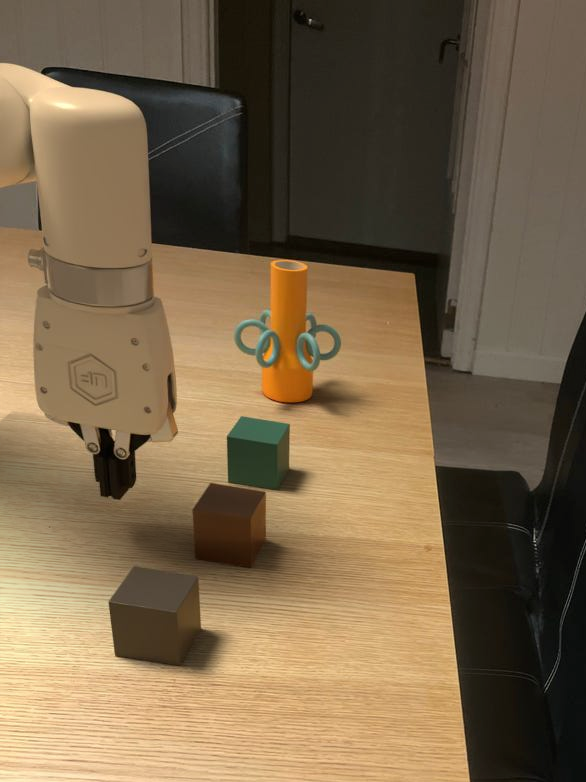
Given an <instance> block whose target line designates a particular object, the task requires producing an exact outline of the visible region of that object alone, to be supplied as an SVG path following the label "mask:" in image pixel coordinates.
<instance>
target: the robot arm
mask: <svg viewBox="0 0 586 782" xmlns="http://www.w3.org/2000/svg"><path fill="white" fill-rule="evenodd" d="M32 182H33V183H34V182H36V186H37V187H36V188H37V194H38V196H37V197H38V205H39V212H40V213H39V214H40V222H41V233H42V241H43V243H42V244H43V247H42V248H40V249H35V248H31V249H29V251H28V253H27V262H28V265H29V267H30V268H34V269H38V270H39V271H41V272H43V275H44V284H46V285H43V286H41V287H39V288H38V289H37V291H36V298H35V306H34V318H33V337H32V338H33V339H32V342H33V343H32V350H33V351H32V352H33V353H32V355H33V356H32V357H33V378H34V379H33V380H34V390H35V397H36V402H37V405H38V408H39V409H40V410H41V412H42V413H44V416H45V417H46V418H47V419H48V420H50V421H53V422H55V423H58V424H60V425H62V426H65V427H69V428H70V430H72V431H73V432H74V433H75V434H76V435H77V436H78V437H79V439H81V440H82V441H83V443H84V446H85V449H86V451H87V452H88V453H89V454H92V460H93V461H92V462H93V471H94V472H93V473H94V481H95V482H96V483H98V484H99V485H98V487H99V495H100V497H102V498H106V499H108V498H109V497H111V498H112V499H113V500H117V501H121V500H122V499H123V497H124V496H125V495H126V493H128V491H129V490H130V489H133V488H134V486H135V484H136V482H137V465H136V451H137V450H138V449H140V448H141V447H143V446H144V445H145V444H146V443H168V442H169V443H170V442H172V441H173V440H174V439H175V438H176V436H177V435H178V433H179V430H178V426H177V423H176V422H177V421H176V418H175V415H174V413H175V412H176V409H177V404H178V403H177V402H178V391H177V375H176V368H175V359H174V358H175V357H174V350H173V345H172V338H171V333H170V328H169V323H168V319H167V316H166V312H165V307H164V304H163V301H162V299H161V298H160V297H158V296H155V291H154V290H155V289H154V267H153V249H152V248H153V247H152V243H153V242H152V221H151V220H152V218H151V193H150V192H151V191H150V190H151V189H150V167H149V144H148V129H147V122H146V119H145V117H144V114H143V112H142V110H141V108H140V107H139V106H138V105H137V104H135V103H134V102H133V101H132V100H130V99H128V98H126V97H124V96H122V95H120V94H116V93H113V92H108V91H104V90H99V89H93V88H86V87H77V86H76V87H74V86H70V85H68V84H65V83H63V82H60V81H58V80H56V79H53V78H51V77H49V76H47V75H44V74H43V73H40V72H38V71H36V70H33V69H31V68H28V67H25V66H22V65H19V64H14V63H9V62H8V63H7V62H0V189H1V188H5V187H10V186H16V185H22V184H27V183H32ZM113 431H115V435H114V433H113ZM113 436H115V437H114V438H113Z"/></svg>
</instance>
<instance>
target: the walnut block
mask: <svg viewBox="0 0 586 782" xmlns="http://www.w3.org/2000/svg"><path fill="white" fill-rule="evenodd" d="M192 527H193V528H192V529H193V546H194V548H193V550H194V559H195V560H201V561H206V562H211V563H212V562H213V563H217V564H218V563H219V564H225V565H232V566H236V567H237V566H238V567H245V568H250V569H251V568H252V567H253V565H254V563H255V561H256V559H257V557H258V556H259V554H260V551H261V549H262V547H263V546H264V543H265V542H266V540H267V492H266V491H264V490H258V489H253V488H252V489H251V488H245V487H239V486H232V485H227V484H220V483H214V482H209V484H208V485H207V487H206V489H205V490H204V491H203V493H202V494H201V496H200V498H199V499H198V500H197V502H196V503H195V505H194V507H193V508H192Z"/></svg>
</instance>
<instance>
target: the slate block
mask: <svg viewBox="0 0 586 782" xmlns="http://www.w3.org/2000/svg"><path fill="white" fill-rule="evenodd" d="M107 604H108V610H109V619H110V627H111V635H112V644H113V652H114V656H115V657H116V656H117V657H121V658H122V657H123V658H129V659H134V660H141V661H146V662H147V661H148V662H153V663H160V664H166V665H174V666H180V667H181V666H182V663H183V661H184V659H185V658H186V656H187V654H188V652H189V651H190V649H191V647H192V645H193V643H194V641H195V640H196V638H197V636H198V634H199V633H200V630H201V628H202V622H201V620H202V619H201V618H202V617H201V599H200V580H199V575H194V574H189V573H183V572H175V571H169V570H163V569H156V568H151V567H144V566H139V565H133V567H132V568H131V569H130V570H129V572H128V574H127V575H126V576H125V578H124V579H123V580H122V582H121V584H120V585H119V586H118V587H117V589H116V590H115V592H114V593H113V594H112V595H111V597H110V598H109V600H108V603H107Z"/></svg>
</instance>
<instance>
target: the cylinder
mask: <svg viewBox="0 0 586 782" xmlns="http://www.w3.org/2000/svg"><path fill="white" fill-rule="evenodd" d="M307 296H308V265H307V264H305V263H303V262H300V261H297V260H292V259H291V260H289V259H278V260H273V261H271V262H270V309H264V310H263V311H261V313H260V315H259V317H258V319H255V318H248V319H244V320H242V321H241V322H240V323H238V324H237V326H236V327H235V328H234V332H233V340H234V343H235V345H236V347H237V348H238V349H239V350H240V351H241V352H242V353H243V354H246V355H248V356H252V357H255V359H256V360H255V361H256V362H257V364H258V365H259V367H260V368H261V391H262V394H263V395H264V396H265V397H267V398H268V399H270V400H273V401H277V402H281V403H299V402H304V401H307V400H309V399H310V398H311V397H312V396H313V393H314V392H313V391H314V390H313V389H314V371H316V370H317V369H318V368H319V366H320V364H321V361H329V360H331V359H333V358H335V357H336V356H337V355H338V354H339V353H340V350H341V347H342V339H341V336H340V334H339V333H338V331H337V330H336V329H335V328H334V327H332V326H330V325H328V324H317V319H316V317H315V316H314V315H313V313H310V312H307V302H308V301H307V300H308V298H307ZM267 318H269V319H270V321H269V322H270V323H269V325H270V326H269V327H270V328H269V327H268V325H266V322H267ZM307 321H309V325H310V327H309V329H308V331H307ZM248 327H255V328H258V329H259V333H260V336H259V337H258V339H257V342H256V345H255V348H252V347H251V348H250V347H248V346H246V345H245V343H244V342H243V340H242V333H243V331H244V330H245V329H247V328H248ZM320 332H321V333H323V332H324V333H327V334H329V335H330V336H331V337H332V338H333V343H334V345H333V347H332V349H331V350H330V351H329V352H326V353H321V351H320V346H319V344H318V342H317V340H316V336H317V333H320Z"/></svg>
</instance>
